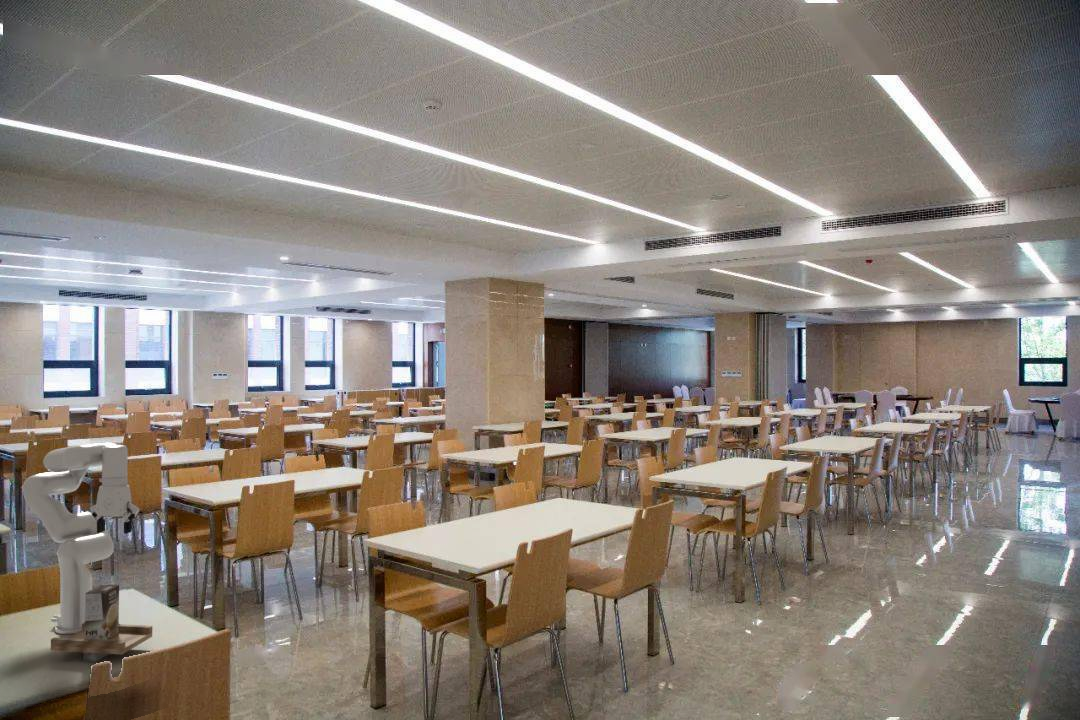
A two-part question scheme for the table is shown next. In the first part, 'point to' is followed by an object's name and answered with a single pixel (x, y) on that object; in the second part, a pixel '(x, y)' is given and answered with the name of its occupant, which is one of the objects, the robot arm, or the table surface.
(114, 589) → the coffee box
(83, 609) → the robot arm
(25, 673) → the table surface
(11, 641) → the table surface
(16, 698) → the table surface
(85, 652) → the brown wooden tray
